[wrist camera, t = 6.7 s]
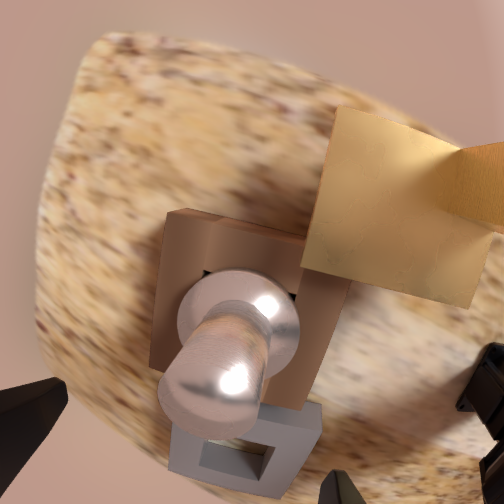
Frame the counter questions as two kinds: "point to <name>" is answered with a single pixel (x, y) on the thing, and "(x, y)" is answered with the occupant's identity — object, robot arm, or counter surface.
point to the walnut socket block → (255, 257)
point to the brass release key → (405, 209)
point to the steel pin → (228, 351)
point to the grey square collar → (247, 464)
